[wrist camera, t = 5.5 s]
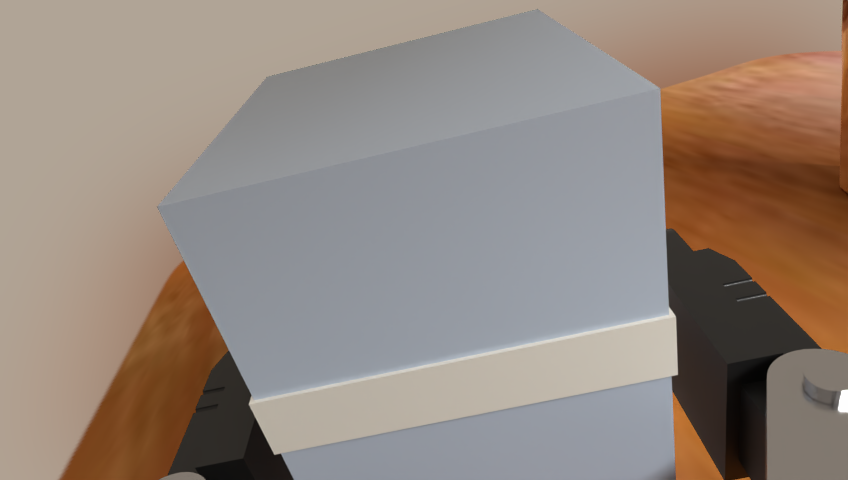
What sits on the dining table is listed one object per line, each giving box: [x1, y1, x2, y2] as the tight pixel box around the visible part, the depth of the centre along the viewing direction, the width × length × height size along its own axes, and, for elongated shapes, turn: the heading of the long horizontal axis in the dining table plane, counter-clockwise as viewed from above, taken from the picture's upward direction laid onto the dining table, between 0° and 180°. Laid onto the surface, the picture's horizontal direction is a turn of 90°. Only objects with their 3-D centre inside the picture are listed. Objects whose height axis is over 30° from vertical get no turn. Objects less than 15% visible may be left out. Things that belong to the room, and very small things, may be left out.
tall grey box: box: [157, 9, 678, 480], centre depth 10 cm, size 5×5×12 cm
